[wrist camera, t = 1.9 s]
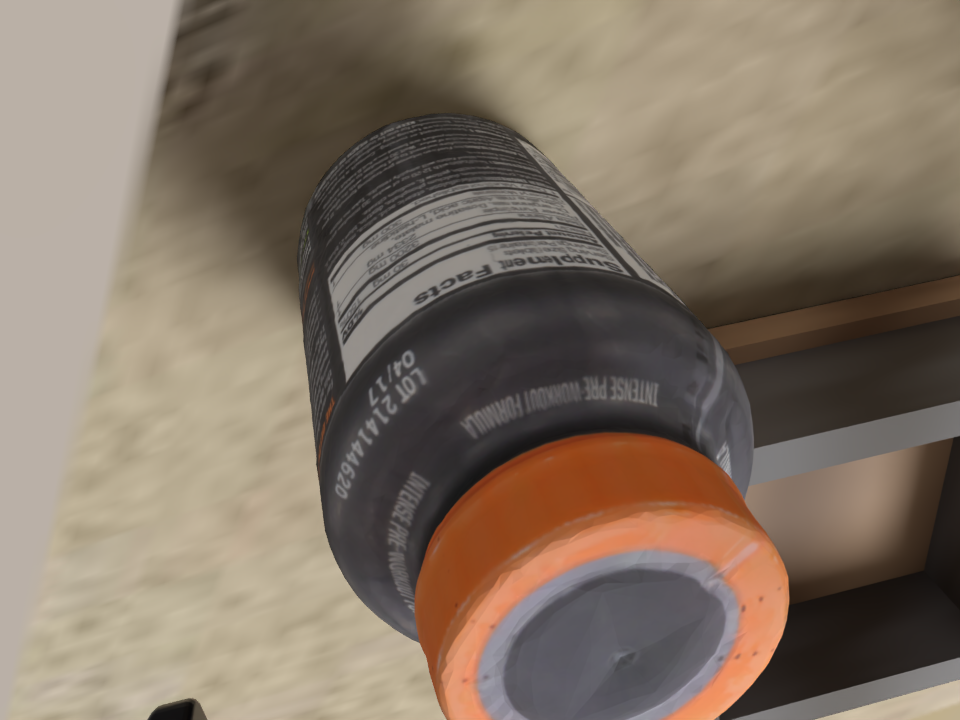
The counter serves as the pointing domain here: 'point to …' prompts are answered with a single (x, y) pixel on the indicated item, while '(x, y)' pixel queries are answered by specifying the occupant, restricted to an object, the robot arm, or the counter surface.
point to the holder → (857, 495)
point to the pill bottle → (527, 438)
